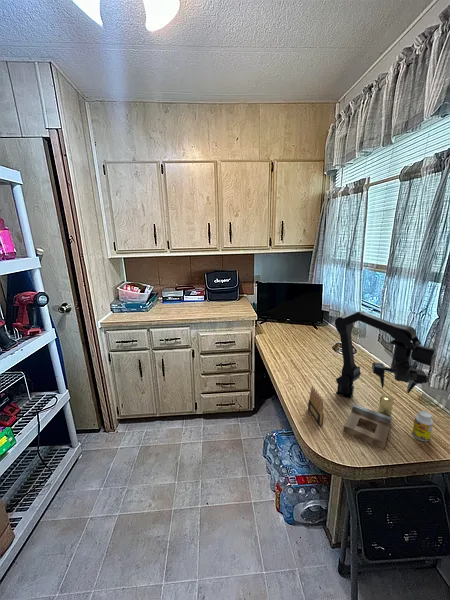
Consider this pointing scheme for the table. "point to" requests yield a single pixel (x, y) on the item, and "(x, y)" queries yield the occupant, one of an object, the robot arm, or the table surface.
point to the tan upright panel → (316, 406)
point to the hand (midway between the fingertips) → (394, 390)
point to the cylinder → (385, 405)
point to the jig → (368, 425)
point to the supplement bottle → (422, 426)
